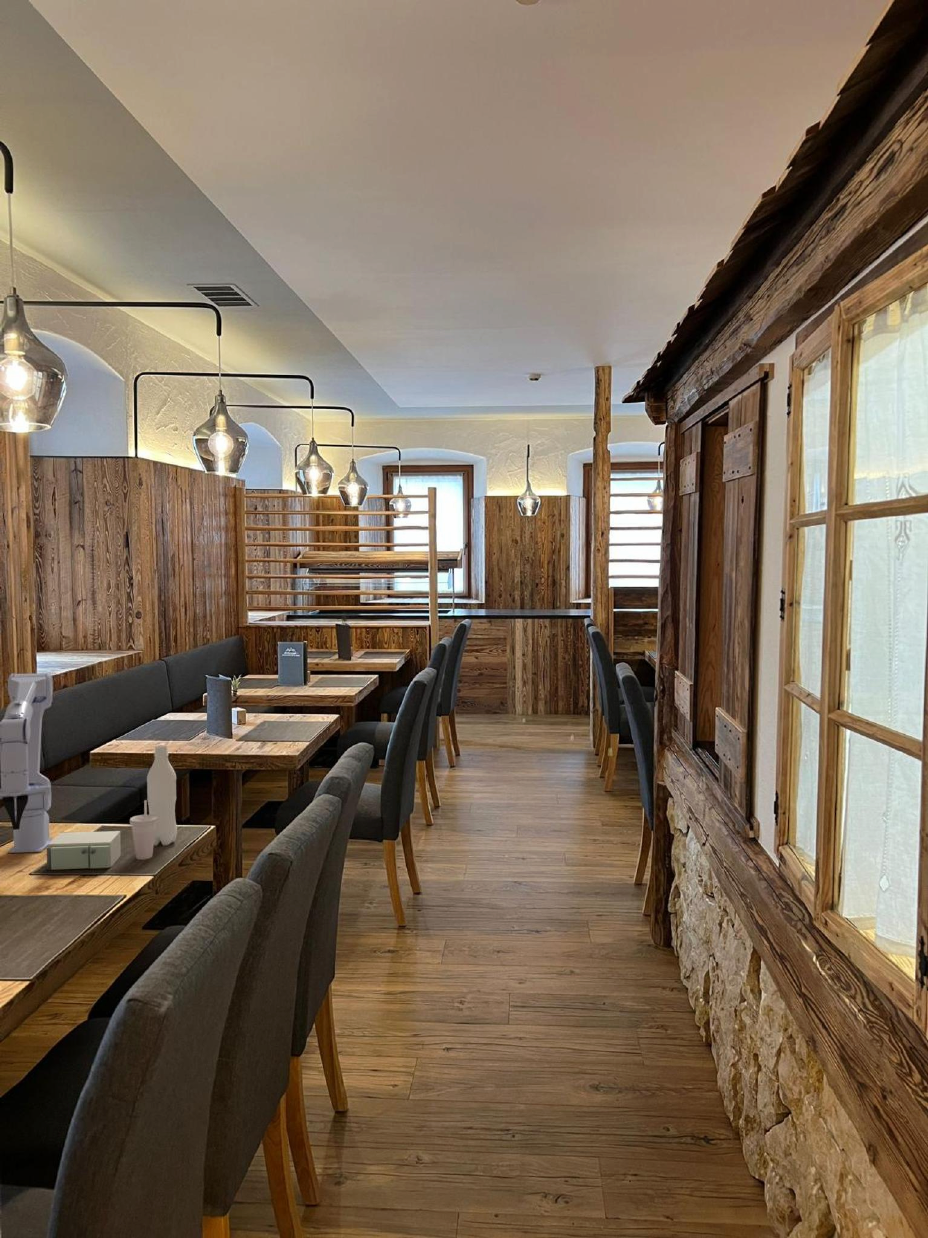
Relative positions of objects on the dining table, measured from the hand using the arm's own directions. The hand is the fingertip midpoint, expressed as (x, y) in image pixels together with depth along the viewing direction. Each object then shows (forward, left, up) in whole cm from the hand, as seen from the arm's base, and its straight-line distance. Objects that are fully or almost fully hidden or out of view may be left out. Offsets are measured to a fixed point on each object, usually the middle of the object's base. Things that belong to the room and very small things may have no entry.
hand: (16, 828), depth 209 cm
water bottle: (-18, +29, -10) cm, 36 cm away
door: (+1, +12, -10) cm, 15 cm away
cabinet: (-3, +14, -10) cm, 17 cm away
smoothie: (-7, +27, -10) cm, 30 cm away
